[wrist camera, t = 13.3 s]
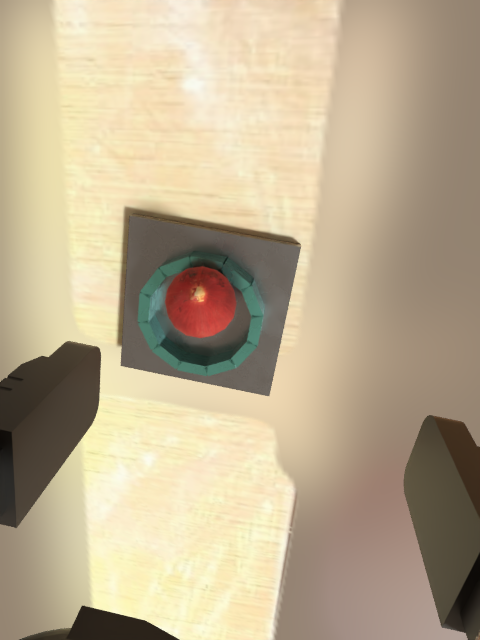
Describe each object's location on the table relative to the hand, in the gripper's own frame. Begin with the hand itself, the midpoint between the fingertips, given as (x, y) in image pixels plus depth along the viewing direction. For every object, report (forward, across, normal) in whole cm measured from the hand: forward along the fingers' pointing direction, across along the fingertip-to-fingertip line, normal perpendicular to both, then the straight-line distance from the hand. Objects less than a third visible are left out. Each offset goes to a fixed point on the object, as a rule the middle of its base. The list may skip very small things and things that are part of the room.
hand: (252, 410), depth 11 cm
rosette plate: (+30, +6, +10) cm, 32 cm away
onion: (+29, +6, +10) cm, 31 cm away
